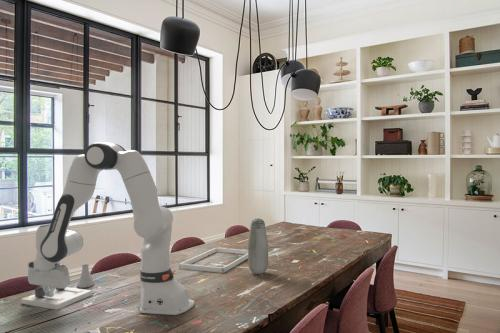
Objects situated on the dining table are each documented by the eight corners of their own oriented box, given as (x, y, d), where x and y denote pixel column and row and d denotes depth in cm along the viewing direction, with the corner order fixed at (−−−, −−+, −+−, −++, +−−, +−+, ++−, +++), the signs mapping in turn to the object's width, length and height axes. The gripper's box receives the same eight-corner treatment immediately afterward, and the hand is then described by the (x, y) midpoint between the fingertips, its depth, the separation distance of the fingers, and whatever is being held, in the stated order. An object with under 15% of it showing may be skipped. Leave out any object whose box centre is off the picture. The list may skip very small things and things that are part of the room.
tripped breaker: (45, 295, 160) (45, 286, 160) (39, 297, 157) (39, 288, 157) (41, 294, 161) (41, 285, 161) (35, 297, 158) (34, 288, 158)
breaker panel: (92, 295, 167) (91, 290, 167) (56, 309, 150) (56, 304, 150) (58, 290, 174) (58, 285, 174) (21, 303, 158) (21, 298, 158)
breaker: (65, 288, 169) (65, 279, 169) (59, 290, 167) (59, 281, 166) (61, 287, 170) (61, 279, 170) (55, 289, 167) (55, 281, 167)
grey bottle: (267, 276, 189) (265, 220, 188) (246, 276, 191) (245, 220, 191) (270, 271, 198) (268, 217, 198) (250, 270, 200) (249, 217, 200)
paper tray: (254, 254, 235) (254, 250, 235) (223, 273, 197) (223, 268, 197) (215, 251, 246) (215, 247, 246) (178, 268, 207) (178, 263, 207)
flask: (89, 282, 185) (88, 262, 185) (96, 285, 180) (96, 264, 180) (74, 286, 180) (73, 265, 179) (81, 289, 175) (81, 267, 175)
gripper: (73, 262, 156) (74, 296, 156) (38, 259, 164) (39, 291, 164) (60, 266, 150) (61, 301, 150) (24, 263, 158) (25, 296, 158)
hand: (49, 296), depth 157 cm, fingers closed
